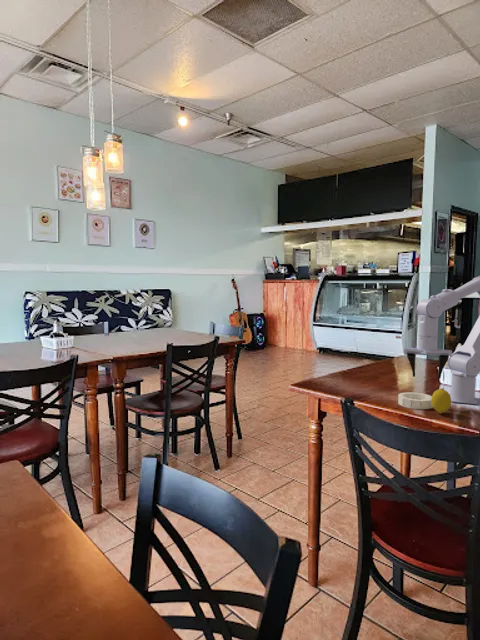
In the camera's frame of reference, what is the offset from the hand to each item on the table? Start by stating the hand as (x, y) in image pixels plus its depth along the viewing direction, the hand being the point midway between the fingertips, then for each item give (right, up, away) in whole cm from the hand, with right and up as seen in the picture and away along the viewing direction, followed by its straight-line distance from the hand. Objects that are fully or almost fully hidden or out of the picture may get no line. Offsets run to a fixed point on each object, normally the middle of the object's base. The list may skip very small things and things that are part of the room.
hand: (426, 376), depth 146 cm
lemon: (+1, -10, -9) cm, 14 cm away
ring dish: (-3, -9, +1) cm, 10 cm away
